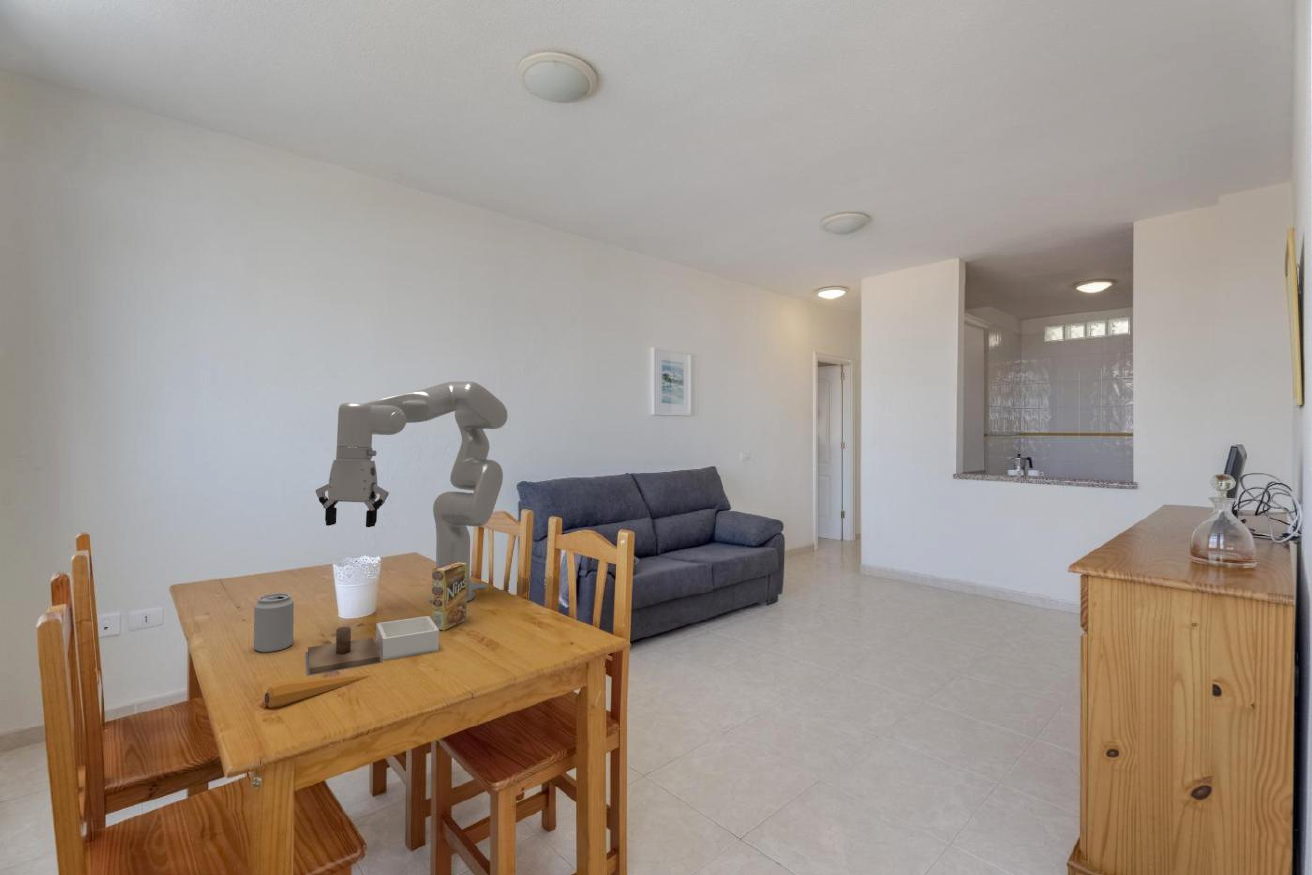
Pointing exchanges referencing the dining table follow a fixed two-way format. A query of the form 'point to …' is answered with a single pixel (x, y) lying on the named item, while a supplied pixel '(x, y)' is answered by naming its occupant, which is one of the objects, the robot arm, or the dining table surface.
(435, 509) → the robot arm
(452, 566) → the candy box
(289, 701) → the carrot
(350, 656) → the lid
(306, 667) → the mat
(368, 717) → the dining table surface
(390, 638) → the grey storage bin
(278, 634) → the can
